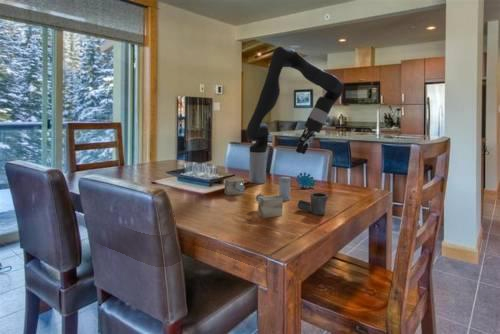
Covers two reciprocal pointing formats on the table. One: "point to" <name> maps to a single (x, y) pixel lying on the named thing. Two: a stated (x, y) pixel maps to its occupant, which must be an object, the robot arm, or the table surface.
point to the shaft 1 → (238, 187)
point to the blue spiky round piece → (306, 180)
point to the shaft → (259, 196)
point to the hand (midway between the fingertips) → (300, 152)
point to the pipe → (314, 204)
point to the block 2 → (270, 206)
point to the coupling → (284, 188)
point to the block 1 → (229, 186)
